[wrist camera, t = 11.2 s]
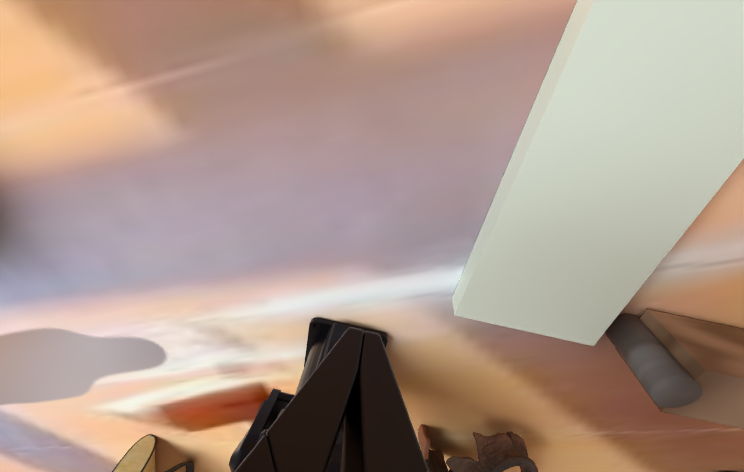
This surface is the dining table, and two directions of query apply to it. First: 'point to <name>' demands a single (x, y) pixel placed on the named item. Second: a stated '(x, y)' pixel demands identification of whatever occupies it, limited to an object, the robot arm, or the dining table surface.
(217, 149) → the dining table surface
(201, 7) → the dining table surface
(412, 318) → the dining table surface
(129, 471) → the clutch purse
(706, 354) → the folding leg
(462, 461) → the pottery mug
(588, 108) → the pale green flat block
